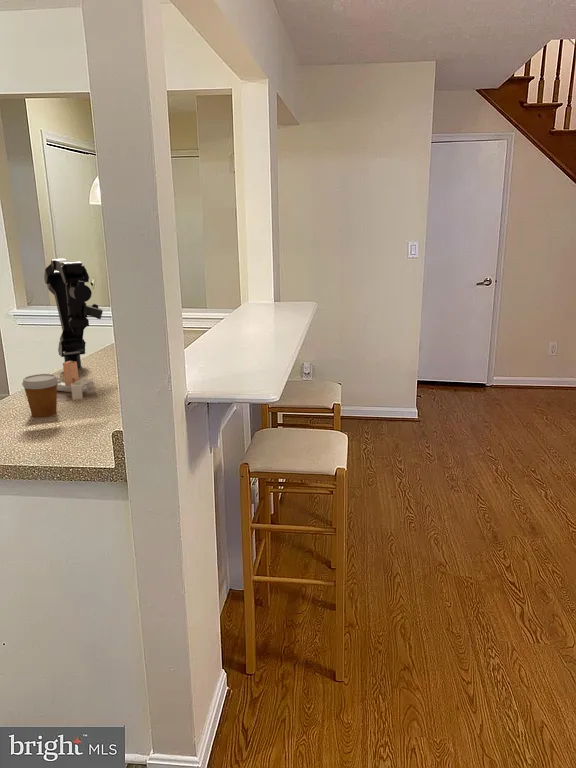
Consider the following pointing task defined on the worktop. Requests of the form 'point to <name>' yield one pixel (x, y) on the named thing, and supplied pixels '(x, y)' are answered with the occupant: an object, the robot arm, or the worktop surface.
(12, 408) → the worktop surface
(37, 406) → the disposable coffee cup
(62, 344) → the robot arm
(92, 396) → the walnut board
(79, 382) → the block
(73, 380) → the lever link
